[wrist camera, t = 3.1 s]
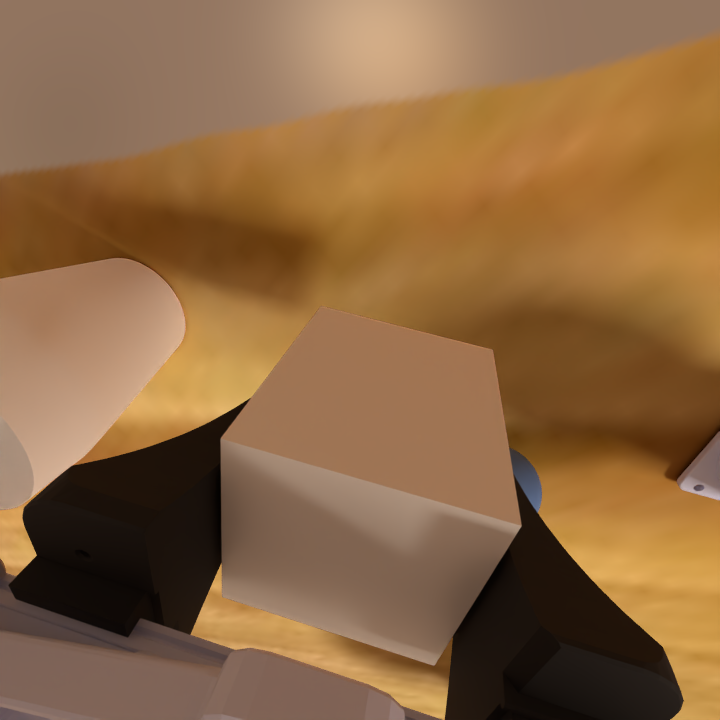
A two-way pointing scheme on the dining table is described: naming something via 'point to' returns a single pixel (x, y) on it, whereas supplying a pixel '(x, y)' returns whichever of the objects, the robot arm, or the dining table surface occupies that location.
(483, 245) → the dining table surface
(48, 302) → the cup
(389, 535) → the beige block
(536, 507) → the ball
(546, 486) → the dining table surface
